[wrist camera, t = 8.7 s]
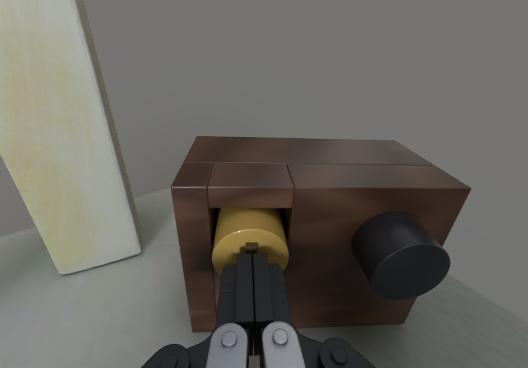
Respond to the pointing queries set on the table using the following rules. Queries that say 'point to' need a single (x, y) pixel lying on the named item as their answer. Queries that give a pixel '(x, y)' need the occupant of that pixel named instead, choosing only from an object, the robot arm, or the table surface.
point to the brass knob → (249, 236)
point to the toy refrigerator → (63, 135)
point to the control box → (322, 223)
